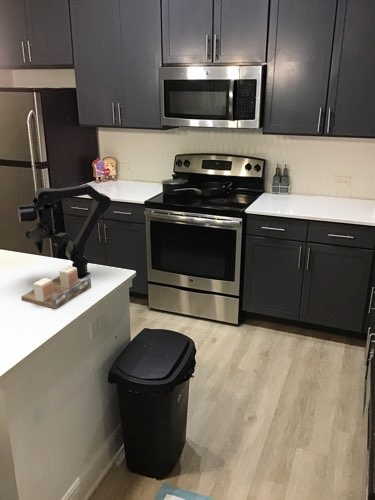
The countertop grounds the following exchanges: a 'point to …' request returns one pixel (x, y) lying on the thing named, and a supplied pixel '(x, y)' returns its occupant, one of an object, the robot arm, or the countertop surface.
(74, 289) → the brown tray
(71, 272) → the askew carton
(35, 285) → the faced carton
